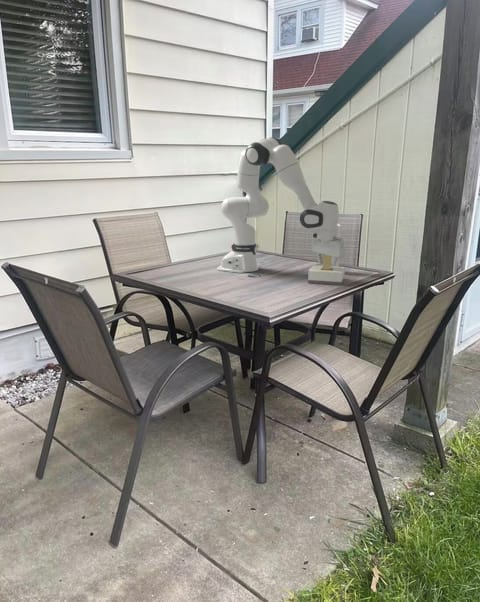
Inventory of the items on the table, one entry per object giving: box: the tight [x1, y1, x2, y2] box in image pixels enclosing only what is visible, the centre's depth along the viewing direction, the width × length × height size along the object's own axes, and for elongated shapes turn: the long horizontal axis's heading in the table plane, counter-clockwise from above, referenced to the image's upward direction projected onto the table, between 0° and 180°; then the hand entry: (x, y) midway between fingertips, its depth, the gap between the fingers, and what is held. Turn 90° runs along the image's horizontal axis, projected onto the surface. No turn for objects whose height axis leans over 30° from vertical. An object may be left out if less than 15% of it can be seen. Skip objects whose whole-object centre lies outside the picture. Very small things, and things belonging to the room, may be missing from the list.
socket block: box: [307, 264, 346, 286], centre depth 235 cm, size 16×13×6 cm
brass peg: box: [322, 254, 332, 270], centre depth 234 cm, size 4×4×12 cm
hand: (327, 263), depth 234 cm, fingers open, 8 cm apart
